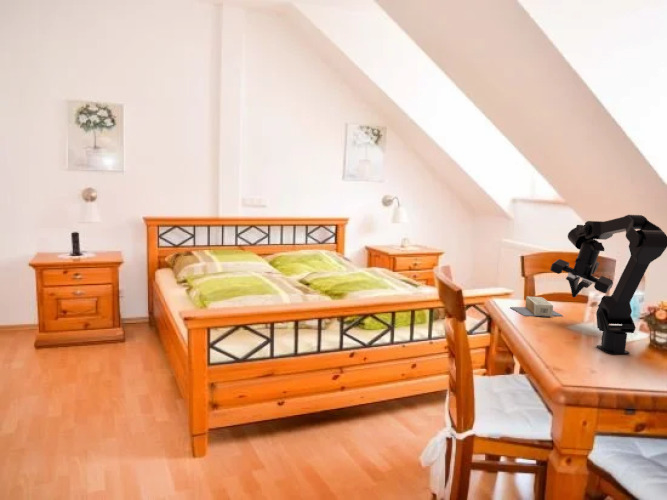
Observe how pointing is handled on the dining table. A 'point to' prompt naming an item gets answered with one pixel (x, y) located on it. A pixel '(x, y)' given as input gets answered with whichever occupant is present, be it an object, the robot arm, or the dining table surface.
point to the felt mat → (527, 312)
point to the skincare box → (539, 306)
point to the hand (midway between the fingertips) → (574, 296)
